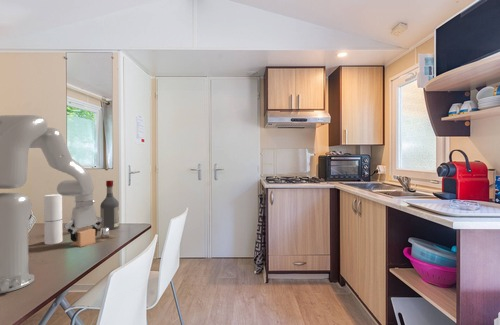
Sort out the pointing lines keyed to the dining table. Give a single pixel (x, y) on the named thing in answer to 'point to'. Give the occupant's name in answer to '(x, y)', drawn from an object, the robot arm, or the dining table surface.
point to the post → (104, 232)
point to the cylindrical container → (53, 218)
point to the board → (98, 240)
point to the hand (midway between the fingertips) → (84, 238)
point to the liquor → (109, 209)
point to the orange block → (84, 237)
